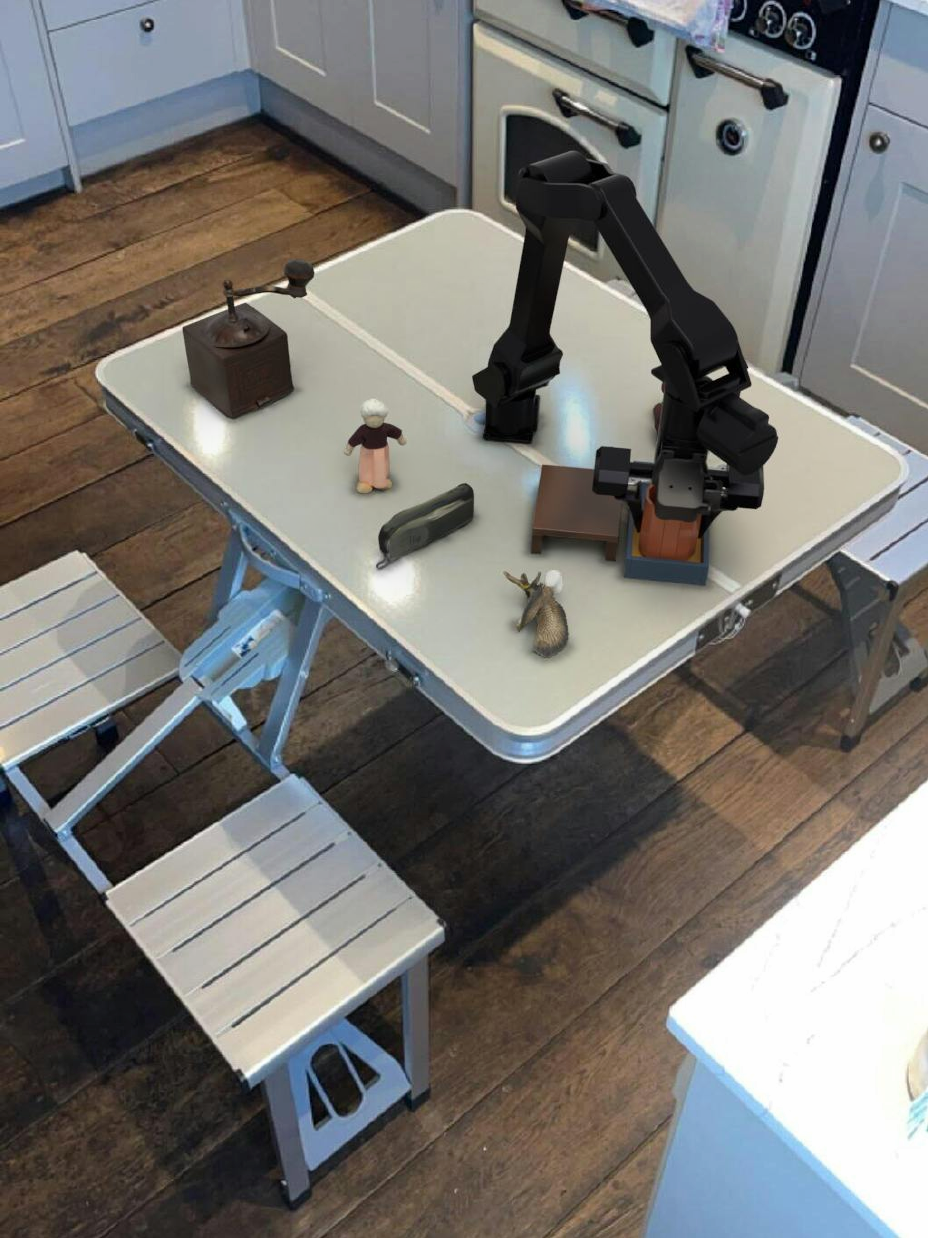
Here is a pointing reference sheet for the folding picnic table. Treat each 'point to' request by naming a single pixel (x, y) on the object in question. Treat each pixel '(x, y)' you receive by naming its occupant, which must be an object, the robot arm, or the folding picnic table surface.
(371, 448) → the grandmother figurine
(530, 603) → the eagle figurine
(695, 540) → the cup
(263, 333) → the coffee grinder
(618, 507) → the brown low table
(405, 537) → the dark green rounded bar
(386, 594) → the folding picnic table surface
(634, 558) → the blue divided tray
